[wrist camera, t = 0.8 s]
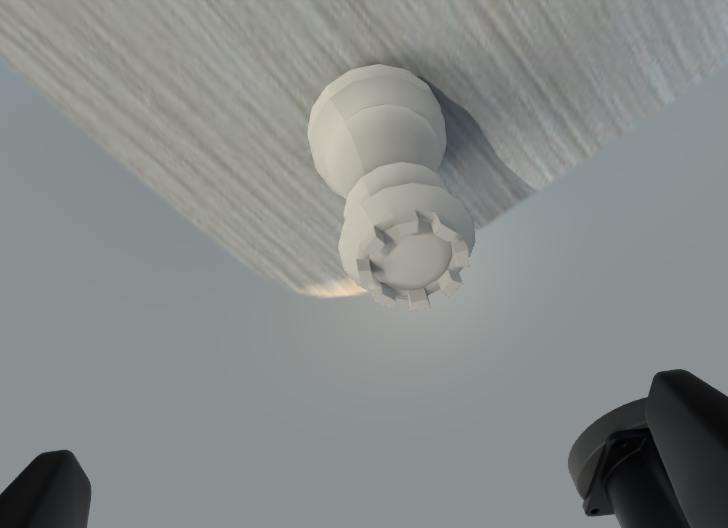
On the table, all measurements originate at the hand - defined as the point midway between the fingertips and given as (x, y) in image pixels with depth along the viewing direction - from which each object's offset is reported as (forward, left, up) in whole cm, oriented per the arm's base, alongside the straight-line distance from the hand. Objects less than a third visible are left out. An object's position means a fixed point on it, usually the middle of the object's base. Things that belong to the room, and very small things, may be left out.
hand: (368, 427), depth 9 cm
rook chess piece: (0, -1, -13) cm, 13 cm away
